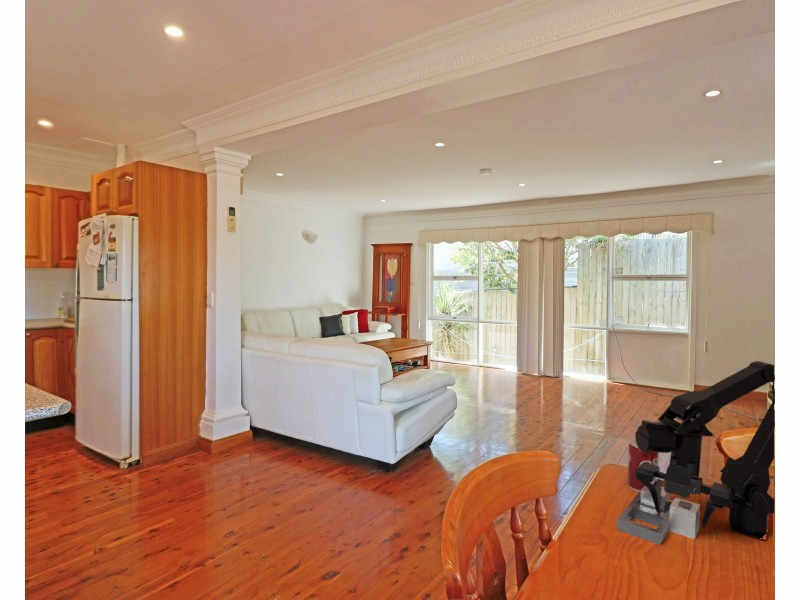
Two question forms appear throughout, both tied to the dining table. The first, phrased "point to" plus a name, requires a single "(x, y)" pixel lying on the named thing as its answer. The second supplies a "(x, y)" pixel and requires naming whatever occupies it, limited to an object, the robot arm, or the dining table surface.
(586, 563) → the dining table surface
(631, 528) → the grey flat frame
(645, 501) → the nut
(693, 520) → the block
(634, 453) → the soda can
